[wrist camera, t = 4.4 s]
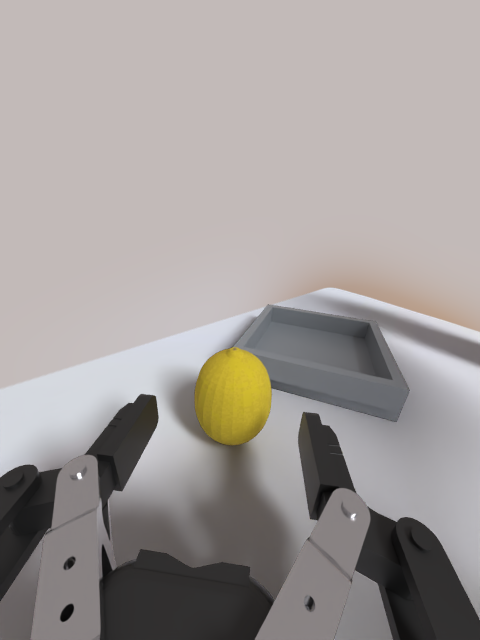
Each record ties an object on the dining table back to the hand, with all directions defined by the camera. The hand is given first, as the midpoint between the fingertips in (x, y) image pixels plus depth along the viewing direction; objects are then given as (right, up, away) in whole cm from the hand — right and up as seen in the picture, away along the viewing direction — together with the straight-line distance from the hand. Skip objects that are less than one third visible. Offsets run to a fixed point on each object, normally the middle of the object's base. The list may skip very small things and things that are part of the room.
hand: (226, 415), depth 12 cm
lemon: (0, -4, +6) cm, 7 cm away
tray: (+10, 0, +17) cm, 20 cm away
